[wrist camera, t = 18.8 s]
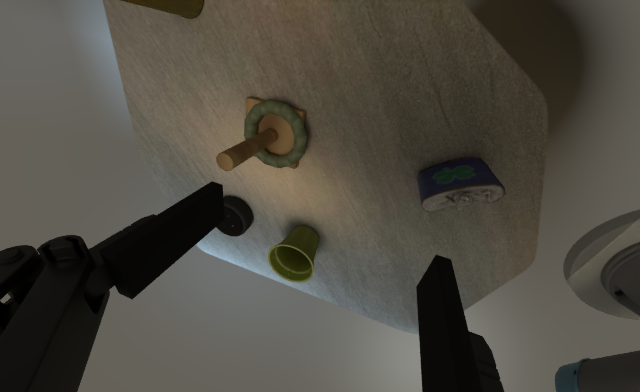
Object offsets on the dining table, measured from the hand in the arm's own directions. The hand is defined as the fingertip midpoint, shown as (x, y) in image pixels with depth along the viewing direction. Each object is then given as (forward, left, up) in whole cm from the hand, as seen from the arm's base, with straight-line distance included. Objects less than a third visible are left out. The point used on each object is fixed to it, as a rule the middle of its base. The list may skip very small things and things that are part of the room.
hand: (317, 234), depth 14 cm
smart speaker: (+23, +26, -27) cm, 44 cm away
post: (+15, +5, -27) cm, 31 cm away
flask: (-14, +3, -27) cm, 30 cm away
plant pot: (+6, +26, -27) cm, 38 cm away
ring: (+14, +5, -24) cm, 29 cm away
